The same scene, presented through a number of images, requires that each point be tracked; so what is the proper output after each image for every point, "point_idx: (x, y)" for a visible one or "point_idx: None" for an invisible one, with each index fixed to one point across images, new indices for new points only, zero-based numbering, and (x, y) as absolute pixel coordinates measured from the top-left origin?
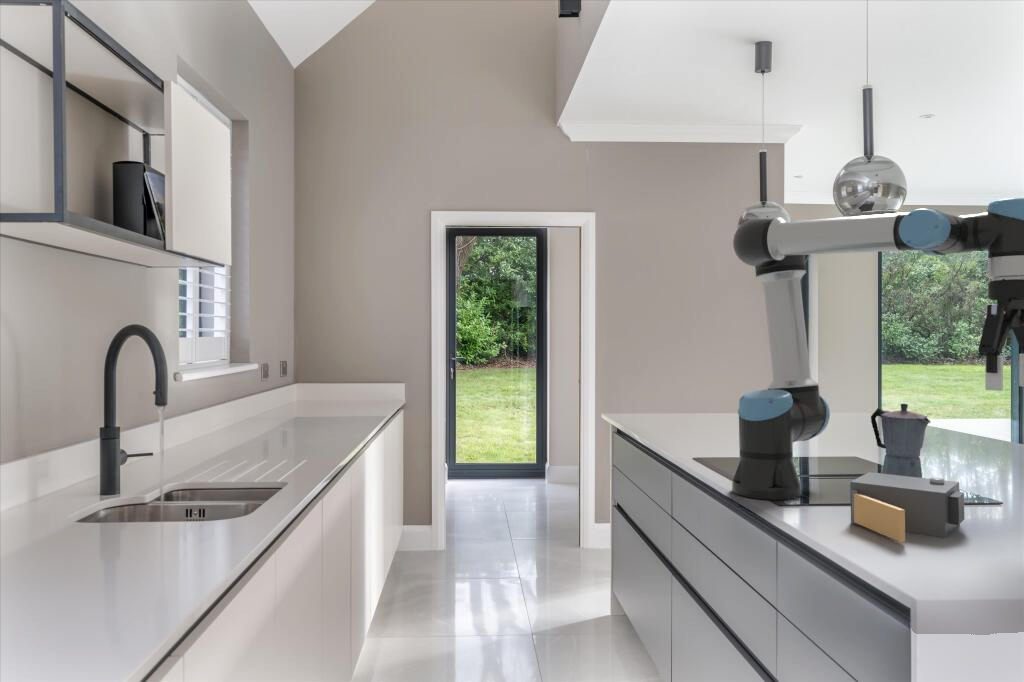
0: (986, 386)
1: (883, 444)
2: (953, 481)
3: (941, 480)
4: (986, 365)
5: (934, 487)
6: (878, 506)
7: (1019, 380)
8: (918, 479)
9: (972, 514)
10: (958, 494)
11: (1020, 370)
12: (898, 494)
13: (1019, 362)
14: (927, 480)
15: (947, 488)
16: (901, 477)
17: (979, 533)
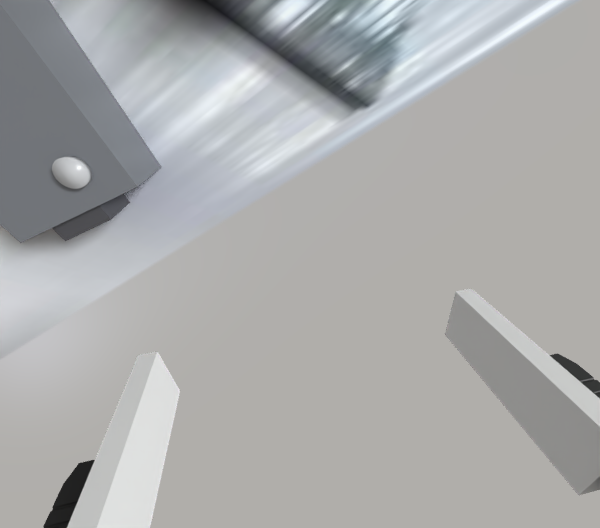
0: (133, 372)
1: None
2: (129, 177)
3: (71, 187)
4: (46, 524)
5: (34, 199)
6: None
7: (473, 309)
8: (55, 119)
9: (240, 135)
10: (85, 225)
11: (512, 351)
12: None
13: (556, 390)
14: (72, 139)
15: (59, 217)
16: (19, 73)
17: (145, 216)
